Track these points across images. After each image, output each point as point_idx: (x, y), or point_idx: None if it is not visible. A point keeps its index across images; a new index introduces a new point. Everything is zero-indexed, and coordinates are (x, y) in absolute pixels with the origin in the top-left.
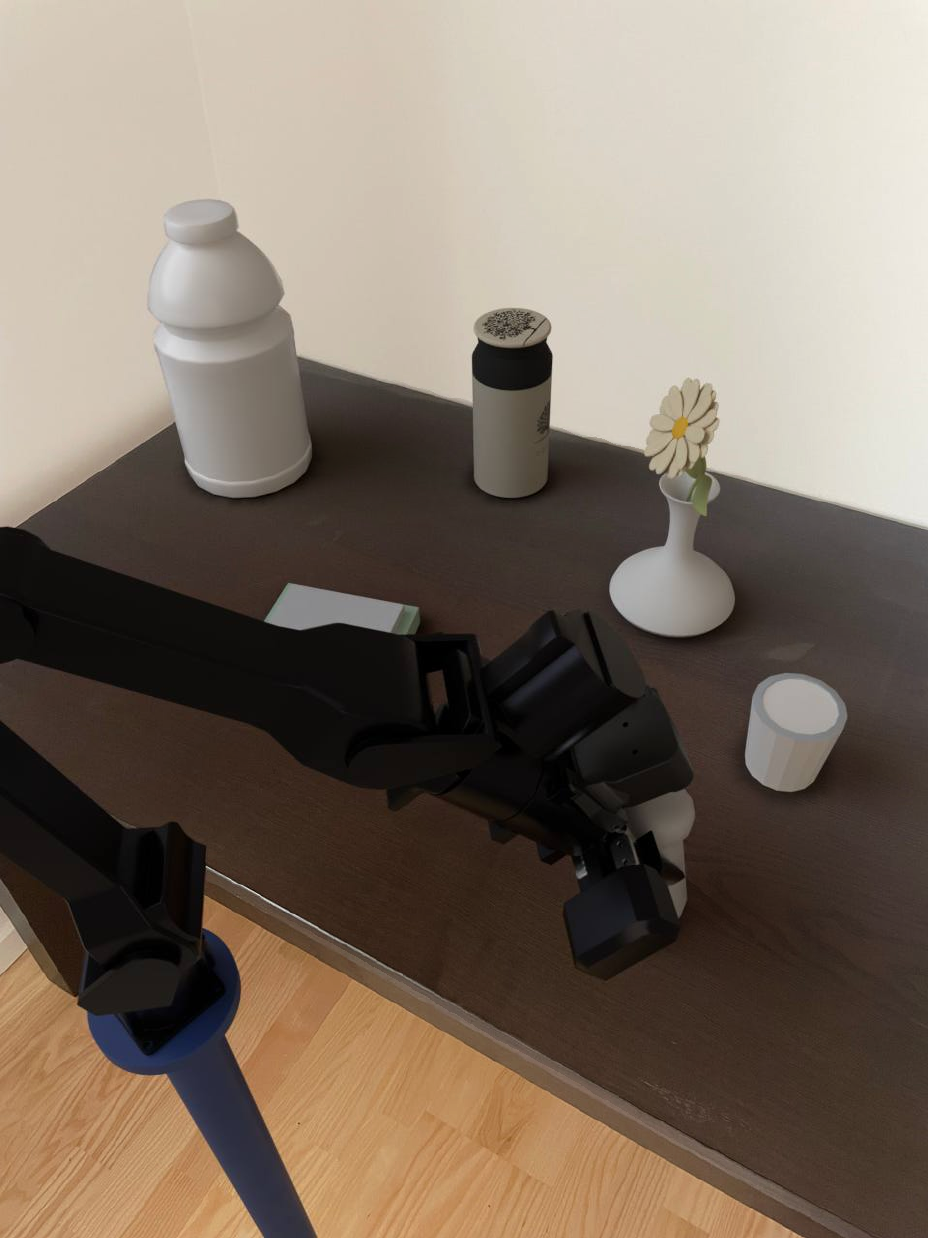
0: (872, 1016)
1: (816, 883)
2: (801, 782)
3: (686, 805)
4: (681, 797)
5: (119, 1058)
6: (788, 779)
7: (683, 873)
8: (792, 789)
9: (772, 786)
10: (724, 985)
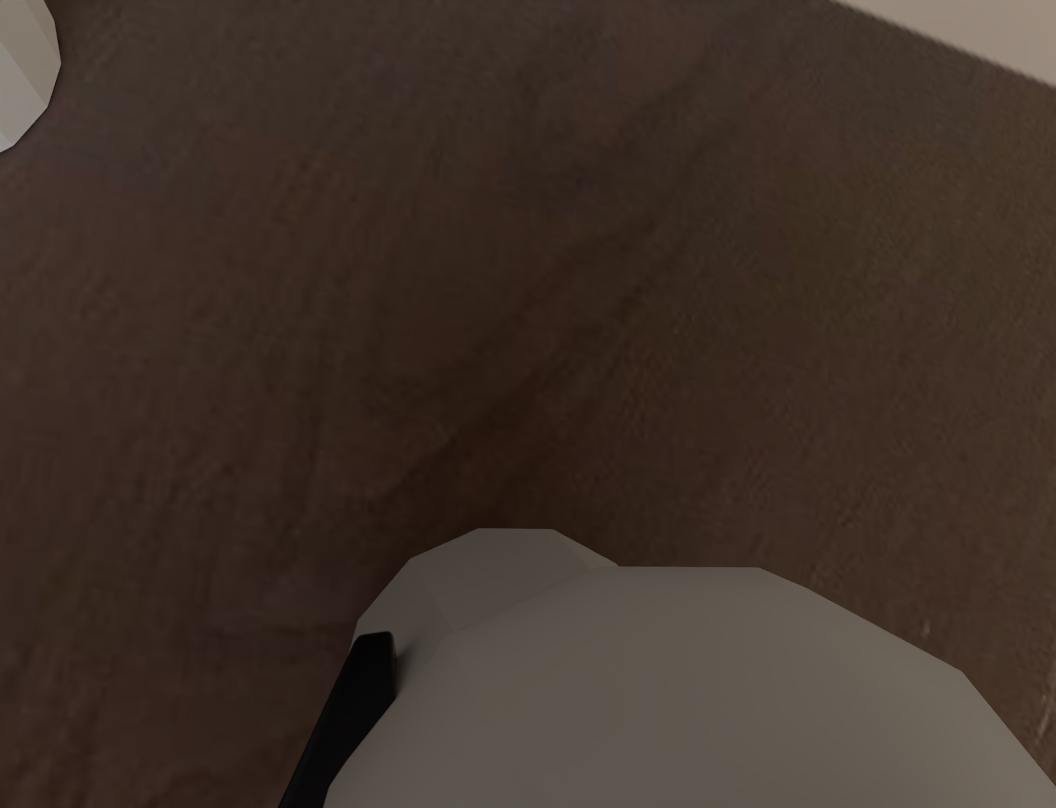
0: (814, 89)
1: (424, 98)
2: (36, 5)
3: (819, 711)
4: (720, 776)
5: None
6: (20, 36)
7: None
8: (54, 53)
9: (28, 114)
10: (752, 446)
